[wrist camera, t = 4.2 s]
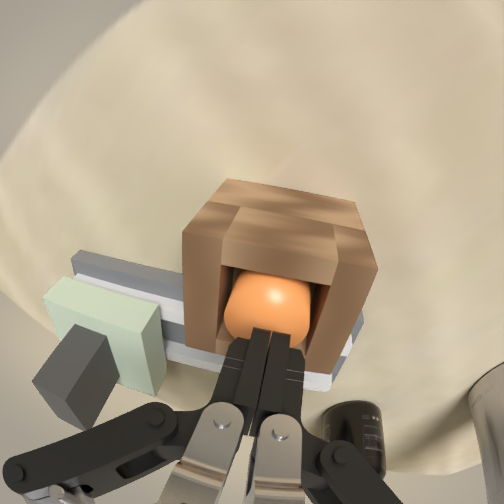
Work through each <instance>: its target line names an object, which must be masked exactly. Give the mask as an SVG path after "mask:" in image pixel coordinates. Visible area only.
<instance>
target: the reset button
mask: <svg viewBox="0 0 504 504" xmlns="http://www.w3.org/2000/svg"><path fill="white" fill-rule="evenodd" d="M310 291H311V282H309V281H303V280H298V279H293V278H287V277H282V276H277V275H272V274H266V273H261V272H256V271H251V270H246V269H241V268H240V271H239V273H238V276H237V279H236V282H235V284H234V287H233V290H232V292H231V295H230V298H229V301H228V303H227V306H226V309H225V312H224V322H225V325H226V328H227V330H228V331H229V333H230V334H231V335H232V336H233V337H234V338H235V339H236V338H237V337H241V338H245V339H250V338H251V334H252V330H253V327H257V328H261V329H266V330H271V335H270V340H271V336H272V332H273V331H276V332H281V333H287V334H291V338H290V346H289V348H293V347H295V346H296V345H298V344H299V343H300V342H302V341H303V340H304V338H305V337H306V335H307V333H308V331H309V325H310ZM270 340H269V343H270ZM268 347H269V345H268Z"/></svg>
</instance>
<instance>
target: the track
mask: <svg viewBox="0 0 504 504" xmlns="http://www.w3.org/2000/svg"><path fill="white" fill-rule="evenodd" d="M71 262H72V266H73V271H74V275H75V276H74V277H73V278H72V279H74V280H77V281H80V282H84V283H87V284H90V285H93V286H96V287H100V288H103V289H106V290H110V291H113V292H117V293H120V294H123V295H127V296H131V297H134V298H138V299H141V300H145V301H149V302H152V303H156V304H159V311H160V320H161V329H162V337H163V344H164V352H165V359H168V360H172V361H175V362H179V363H182V364H186V365H190V366H194V367H197V368H201V369H205V370H209V371H213V372H218V373H220V372H221V368H222V366H223V362H224V359H225V357H226V356H223V355H219V354H214V353H210V352H206V351H202V350H198V349H194V348H190V347H186V346H185V331H184V308H183V274H180V273H175V272H171V271H166V270H162V269H157V268H153V267H149V266H144V265H140V264H136V263H132V262H128V261H123V260H119V259H115V258H111V257H107V256H103V255H99V254H95V253H91V252H87V251H83V250H80V251H78V252H77V253H76V254H75V255H74V256H73V257H72V258H71ZM363 323H364V320H363V314H362V310H361V312H360V314H359V316H358V319H357V321H356V323H355V325H354V327H353V330H352V332H351V334H350V336H349V338H348V340H347V342H346V344H345V347H344V349H343V351H342V353H341V355H340V357H339V359H338V361H337V363H336V365H335V367H334V369H333V370H332V372H331V374H330V375H328V374H321V373H314V372H307V371H305V372H304V382H303V383H304V385H303V389H307V390H315V391H322V392H328V391H329V389H330V387H331V385H332V383H333V381H334V379H335V378H336V376H337V374H338V372H339V370H340V368H341V367H342V365H343V363H344V361H345V359H346V357H347V356H348V354H349V352H350V350H351V348H352V345H353V343H354V341H355V339H356V337H357V335H358V333H359V331H360V329H361V327H362V325H363Z"/></svg>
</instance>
